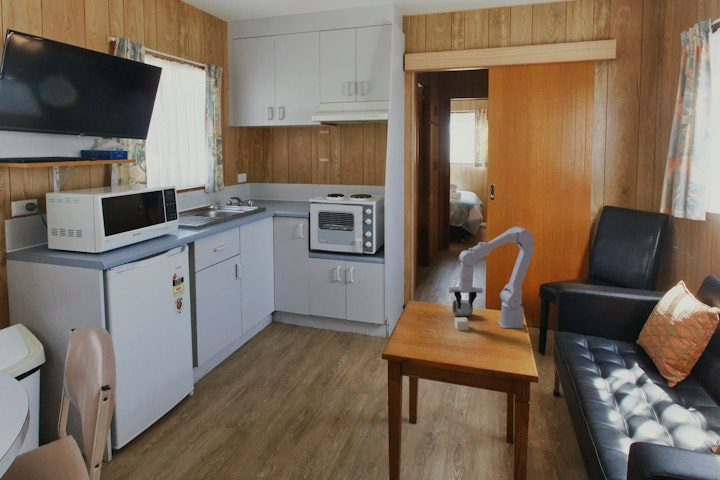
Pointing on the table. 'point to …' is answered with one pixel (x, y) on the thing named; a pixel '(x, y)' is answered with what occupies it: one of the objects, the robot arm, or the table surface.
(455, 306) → the ceramic mug
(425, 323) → the table surface
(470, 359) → the table surface
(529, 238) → the robot arm
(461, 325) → the cream block
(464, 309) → the blue cube
